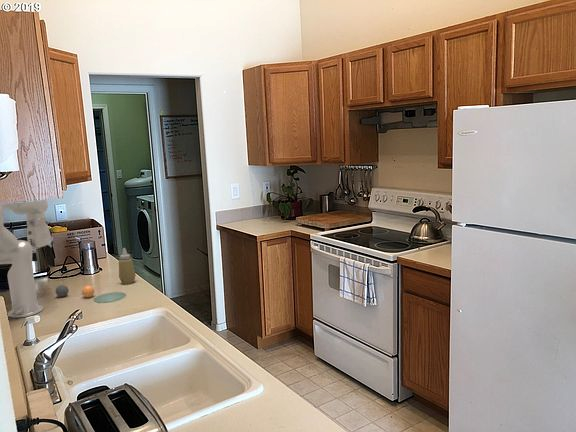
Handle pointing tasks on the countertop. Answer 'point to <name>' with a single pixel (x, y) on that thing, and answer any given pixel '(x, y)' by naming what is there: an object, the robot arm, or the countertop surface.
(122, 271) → the squeeze bottle
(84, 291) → the object ball
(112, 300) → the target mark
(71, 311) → the countertop surface
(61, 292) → the dark gray ball
